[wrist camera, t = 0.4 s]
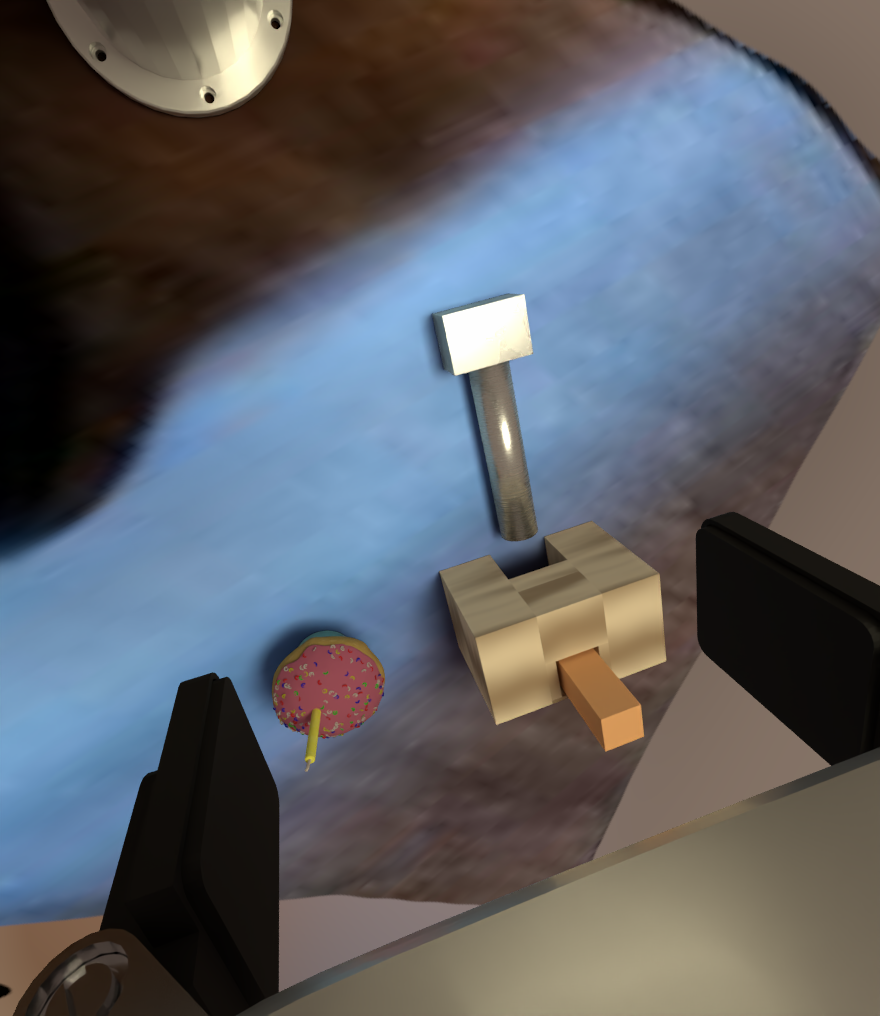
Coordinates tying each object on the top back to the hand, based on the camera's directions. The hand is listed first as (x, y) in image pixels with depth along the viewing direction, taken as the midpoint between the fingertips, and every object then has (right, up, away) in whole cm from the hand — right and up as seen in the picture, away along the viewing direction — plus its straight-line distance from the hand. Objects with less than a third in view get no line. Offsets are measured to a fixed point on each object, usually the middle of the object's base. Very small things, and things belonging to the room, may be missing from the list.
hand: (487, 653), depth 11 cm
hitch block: (+7, -4, +40) cm, 41 cm away
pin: (+3, +9, +34) cm, 36 cm away
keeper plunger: (+9, -9, +33) cm, 35 cm away
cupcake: (-10, -9, +38) cm, 40 cm away
